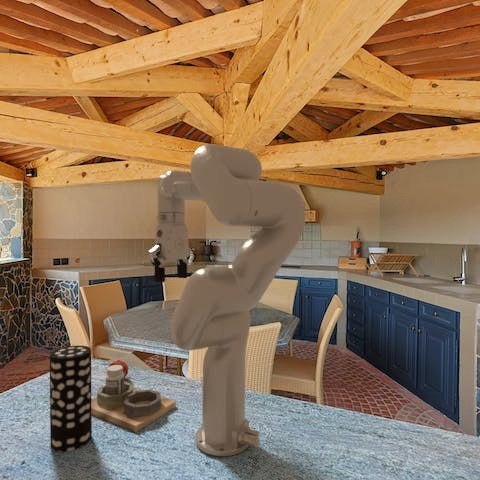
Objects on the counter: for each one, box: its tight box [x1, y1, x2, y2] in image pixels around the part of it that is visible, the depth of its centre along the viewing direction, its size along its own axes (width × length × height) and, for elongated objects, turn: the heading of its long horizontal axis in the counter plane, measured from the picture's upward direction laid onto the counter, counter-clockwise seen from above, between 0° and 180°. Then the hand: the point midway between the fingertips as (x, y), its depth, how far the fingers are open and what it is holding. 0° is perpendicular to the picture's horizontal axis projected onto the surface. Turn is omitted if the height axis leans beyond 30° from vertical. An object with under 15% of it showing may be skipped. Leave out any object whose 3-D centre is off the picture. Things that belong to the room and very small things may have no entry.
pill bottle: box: [105, 365, 125, 395], centre depth 97 cm, size 5×5×8 cm
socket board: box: [91, 380, 177, 433], centre depth 95 cm, size 20×14×4 cm
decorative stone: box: [106, 359, 129, 379], centre depth 113 cm, size 6×7×8 cm
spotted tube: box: [49, 345, 93, 453], centre depth 80 cm, size 8×8×20 cm
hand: (171, 279), depth 102 cm, fingers open, 9 cm apart
